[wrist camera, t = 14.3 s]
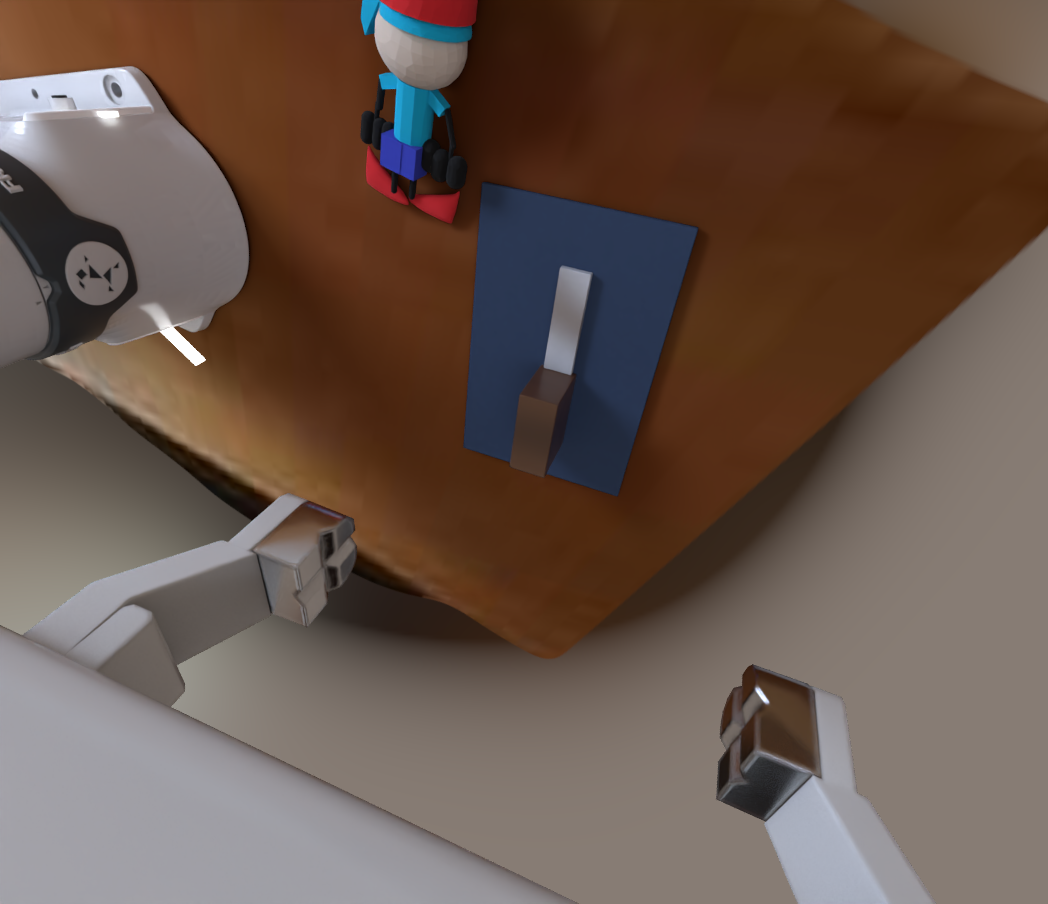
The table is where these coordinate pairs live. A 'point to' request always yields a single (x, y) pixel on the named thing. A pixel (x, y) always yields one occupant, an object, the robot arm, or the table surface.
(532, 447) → the letter opener
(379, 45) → the toy figure
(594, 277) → the desk mat
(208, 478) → the table surface
